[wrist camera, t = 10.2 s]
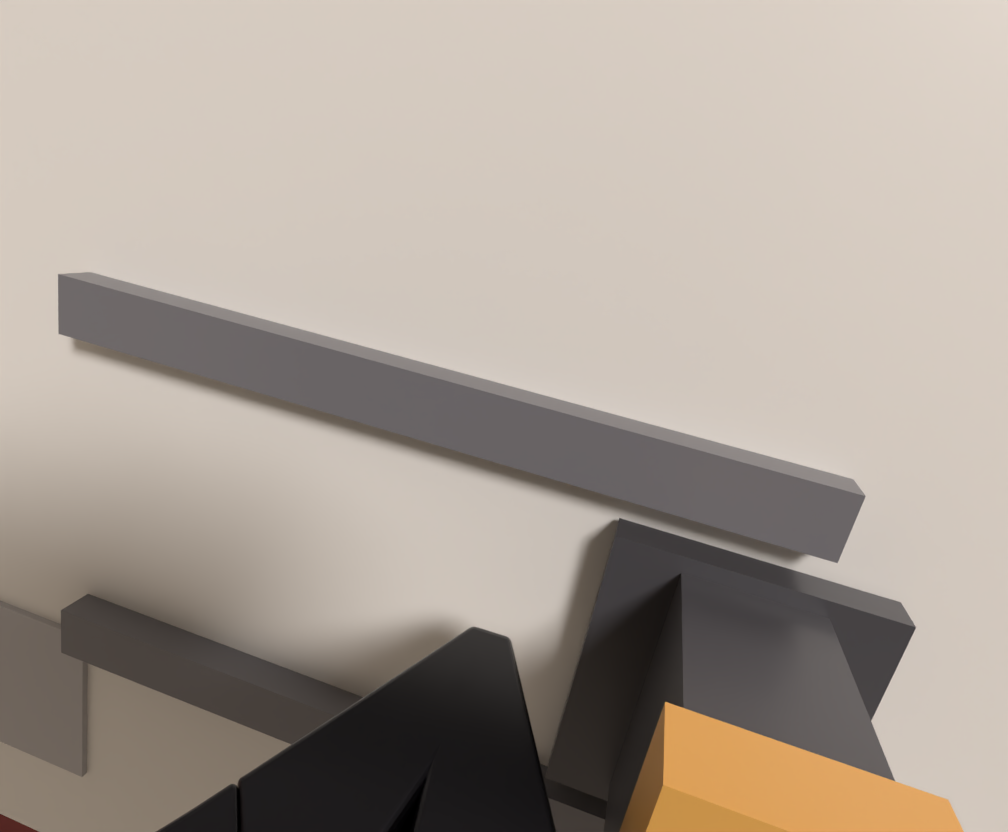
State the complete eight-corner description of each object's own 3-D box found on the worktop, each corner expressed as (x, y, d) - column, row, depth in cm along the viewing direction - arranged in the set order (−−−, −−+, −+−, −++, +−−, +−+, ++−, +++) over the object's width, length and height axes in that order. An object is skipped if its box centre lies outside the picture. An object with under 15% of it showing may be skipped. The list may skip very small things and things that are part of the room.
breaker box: (1398, 121, 8) (1954, 32, 4) (873, 1016, 12) (944, 1293, 9) (-6, -98, 11) (-292, -239, 8) (19, 666, 16) (-149, 777, 13)
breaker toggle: (899, 601, 7) (1116, 952, 4) (790, 837, 8) (875, 1280, 5) (619, 517, 8) (571, 751, 4) (552, 749, 9) (468, 1086, 5)
